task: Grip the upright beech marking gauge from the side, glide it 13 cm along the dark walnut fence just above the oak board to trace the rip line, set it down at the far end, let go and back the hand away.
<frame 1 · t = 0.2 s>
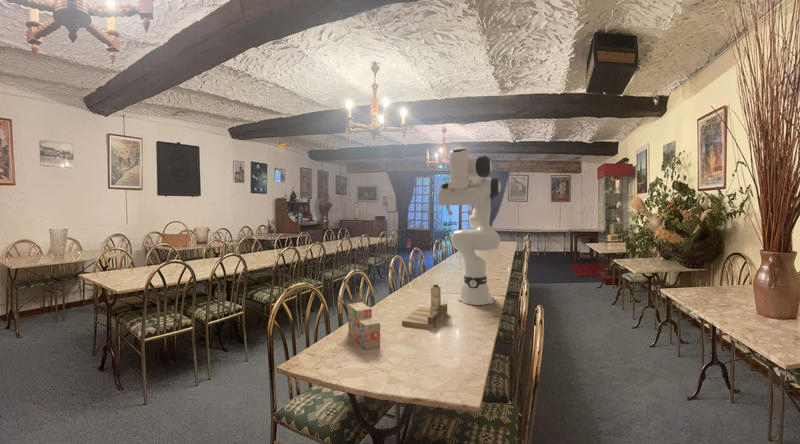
hand: (460, 215, 169), 48 cm above the table, tool pointing down, fingers open, 8 cm apart
stack of blocks: (363, 339, 147), on the table
fenced board: (425, 319, 171), on the table
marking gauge: (435, 311, 176), point 2 cm above the table, touching fenced board
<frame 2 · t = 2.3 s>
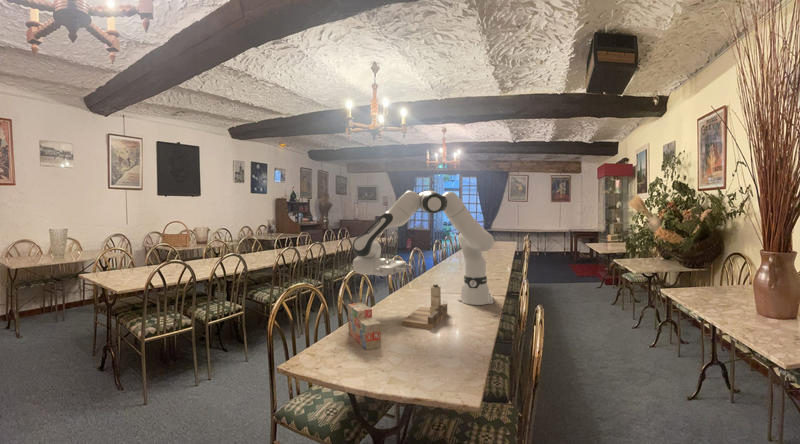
hand: (408, 268, 180), 22 cm above the table, tool horizontal, fingers open, 8 cm apart
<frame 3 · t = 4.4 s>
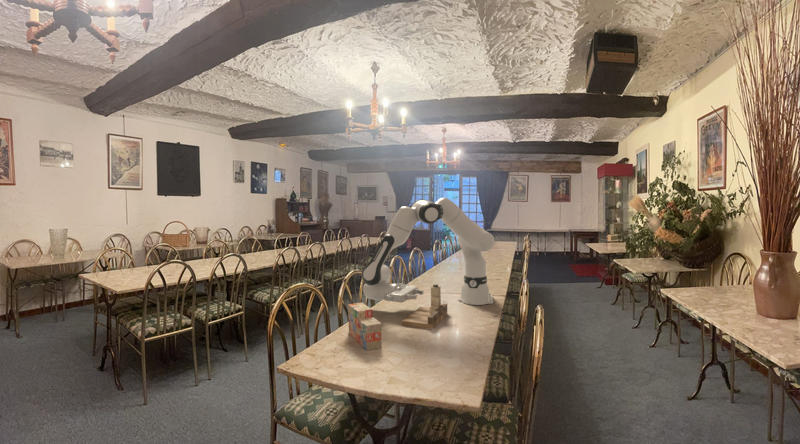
hand: (419, 294, 179), 9 cm above the table, tool horizontal, fingers open, 8 cm apart
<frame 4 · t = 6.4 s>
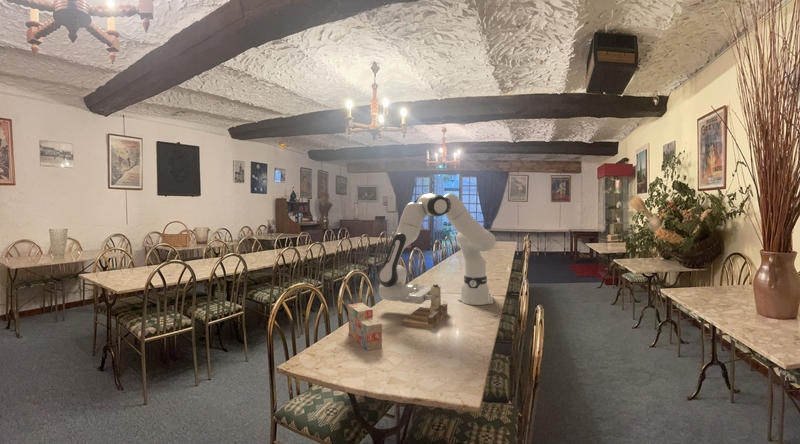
hand: (437, 296, 175), 10 cm above the table, tool horizontal, fingers closed on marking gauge, 4 cm apart
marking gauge: (435, 311, 176), point 2 cm above the table, touching fenced board, gripper
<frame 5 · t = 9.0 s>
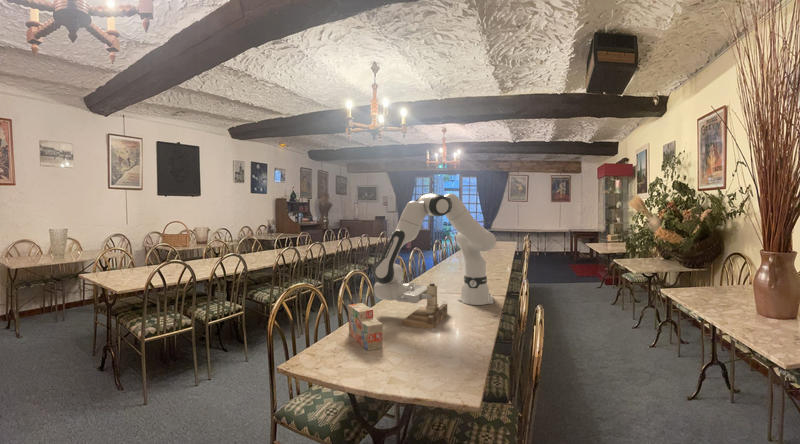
hand: (434, 295, 171), 11 cm above the table, tool horizontal, fingers closed on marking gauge, 4 cm apart
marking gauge: (432, 311, 171), point 4 cm above the table, touching gripper
when the fingers open (10 cm above the table, at t = 11.5 s): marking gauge stays where it is, resting on fenced board.
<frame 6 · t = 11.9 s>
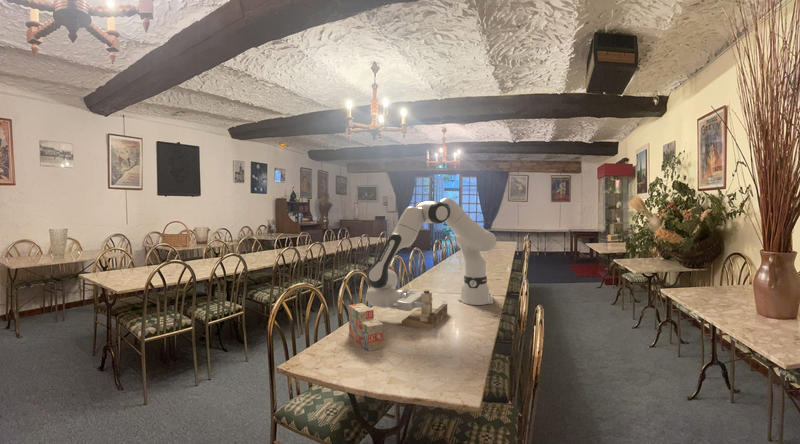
hand: (428, 302, 163), 10 cm above the table, tool horizontal, fingers open, 8 cm apart
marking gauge: (426, 319, 164), point 2 cm above the table, touching fenced board
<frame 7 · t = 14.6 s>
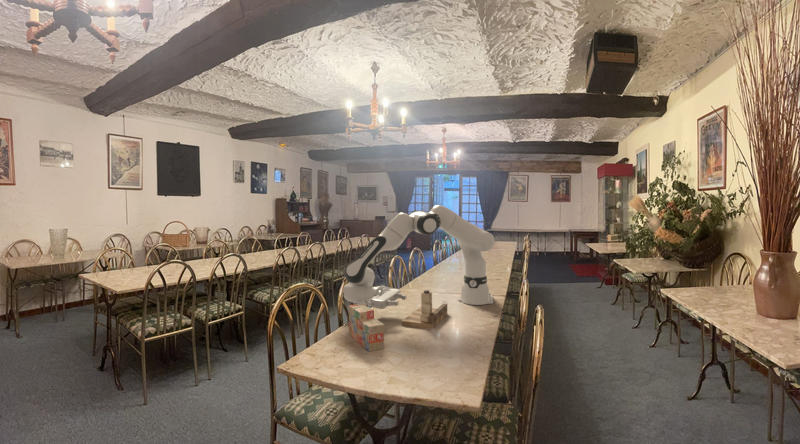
hand: (402, 300, 169), 9 cm above the table, tool horizontal, fingers open, 8 cm apart
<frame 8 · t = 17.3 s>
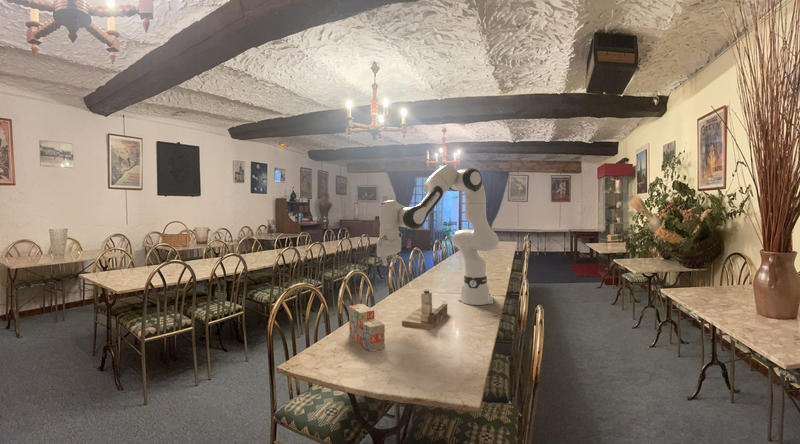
hand: (389, 264, 174), 25 cm above the table, tool pointing down, fingers open, 8 cm apart
at the end: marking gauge 0.2 cm from the target spot, point 2.0 cm above the table; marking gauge tilted 0°; the gripper is holding nothing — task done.
